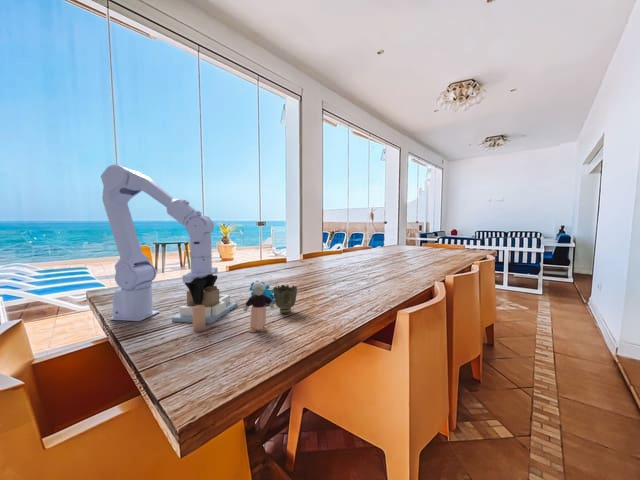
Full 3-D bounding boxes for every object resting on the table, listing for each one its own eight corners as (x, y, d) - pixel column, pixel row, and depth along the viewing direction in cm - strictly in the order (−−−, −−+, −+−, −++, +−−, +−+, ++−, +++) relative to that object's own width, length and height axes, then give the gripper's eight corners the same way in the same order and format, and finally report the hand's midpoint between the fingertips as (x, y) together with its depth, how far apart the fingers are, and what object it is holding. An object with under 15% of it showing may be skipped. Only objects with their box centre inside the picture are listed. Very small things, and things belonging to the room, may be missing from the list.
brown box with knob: (187, 311, 76) (186, 287, 76) (195, 306, 80) (195, 284, 80) (212, 312, 75) (211, 288, 75) (219, 308, 79) (219, 285, 79)
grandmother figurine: (246, 335, 64) (245, 284, 63) (243, 330, 67) (242, 281, 66) (276, 329, 67) (275, 281, 67) (271, 324, 71) (271, 278, 70)
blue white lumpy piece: (259, 304, 84) (247, 280, 88) (249, 315, 86) (238, 290, 90) (282, 300, 93) (270, 279, 97) (273, 310, 95) (261, 288, 100)
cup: (268, 314, 79) (268, 288, 78) (281, 307, 85) (280, 283, 85) (290, 318, 76) (290, 291, 75) (301, 310, 83) (301, 285, 82)
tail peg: (190, 331, 67) (189, 308, 66) (197, 326, 70) (196, 304, 69) (201, 331, 66) (200, 308, 66) (207, 327, 69) (207, 305, 69)
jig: (171, 321, 73) (171, 308, 73) (204, 304, 89) (204, 294, 89) (211, 323, 72) (210, 310, 72) (237, 306, 88) (237, 295, 87)
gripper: (199, 259, 69) (200, 309, 70) (225, 254, 84) (226, 295, 84) (175, 259, 70) (176, 308, 71) (205, 253, 85) (206, 294, 85)
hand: (202, 301), depth 78 cm, fingers closed on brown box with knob, 4 cm apart
